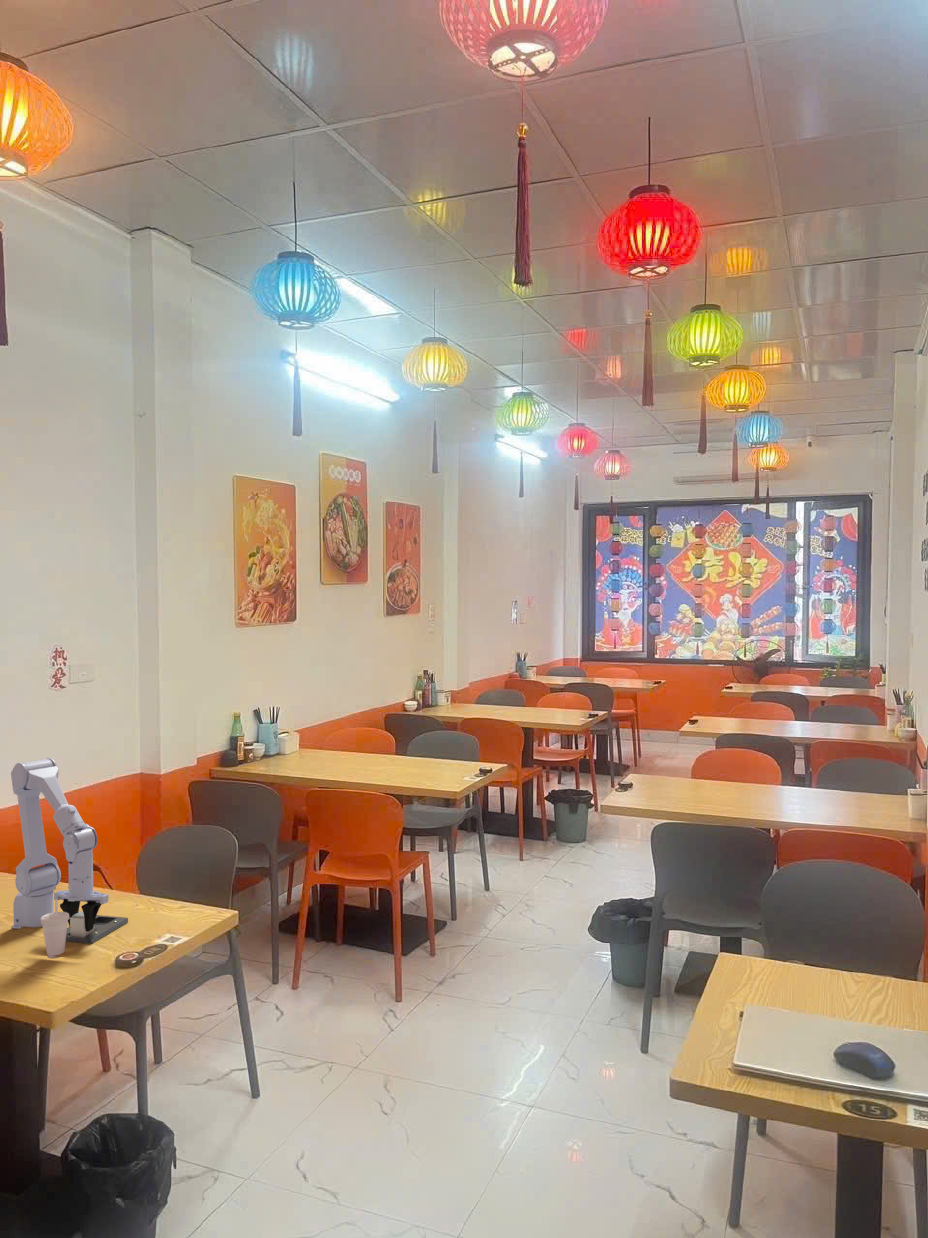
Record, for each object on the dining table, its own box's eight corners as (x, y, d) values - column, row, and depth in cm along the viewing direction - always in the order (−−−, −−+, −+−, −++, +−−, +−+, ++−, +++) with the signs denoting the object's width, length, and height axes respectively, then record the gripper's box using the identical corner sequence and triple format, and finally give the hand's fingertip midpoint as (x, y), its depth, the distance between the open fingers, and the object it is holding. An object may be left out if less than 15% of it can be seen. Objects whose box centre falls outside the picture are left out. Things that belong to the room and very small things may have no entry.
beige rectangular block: (70, 937, 222) (69, 916, 221) (80, 931, 225) (80, 910, 225) (84, 939, 221) (83, 917, 221) (94, 933, 225) (93, 911, 224)
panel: (53, 943, 221) (53, 934, 221) (92, 922, 235) (91, 914, 235) (91, 947, 218) (91, 938, 218) (128, 925, 233) (128, 917, 233)
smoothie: (51, 963, 209) (50, 904, 208) (35, 957, 212) (34, 900, 212) (75, 953, 214) (74, 897, 214) (59, 948, 217) (59, 892, 217)
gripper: (45, 879, 220) (46, 932, 221) (95, 883, 217) (96, 937, 217) (64, 871, 227) (65, 922, 227) (113, 874, 224) (114, 927, 224)
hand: (81, 929), depth 223 cm, fingers closed on beige rectangular block, 4 cm apart
